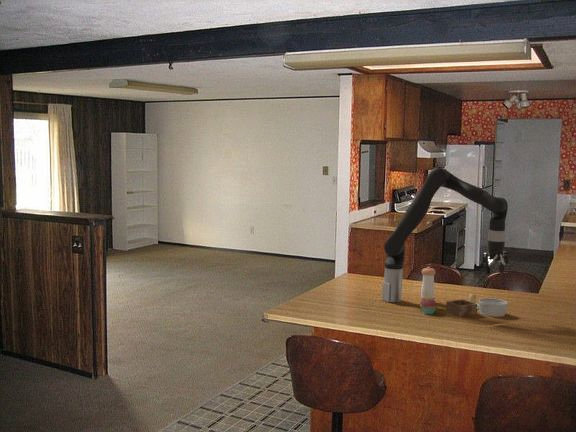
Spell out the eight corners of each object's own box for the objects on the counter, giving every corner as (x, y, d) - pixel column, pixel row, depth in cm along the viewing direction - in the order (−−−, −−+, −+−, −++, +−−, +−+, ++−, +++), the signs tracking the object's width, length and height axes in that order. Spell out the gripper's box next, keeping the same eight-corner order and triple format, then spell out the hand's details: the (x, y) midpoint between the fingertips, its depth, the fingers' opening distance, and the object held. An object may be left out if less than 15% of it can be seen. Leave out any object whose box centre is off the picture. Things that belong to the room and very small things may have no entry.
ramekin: (503, 312, 298) (503, 298, 297) (510, 319, 285) (511, 305, 284) (475, 311, 299) (476, 297, 299) (481, 318, 286) (481, 303, 286)
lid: (471, 310, 298) (472, 297, 297) (457, 305, 307) (458, 293, 306) (486, 308, 302) (487, 295, 301) (472, 303, 311) (473, 291, 310)
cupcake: (427, 317, 286) (428, 292, 285) (415, 313, 293) (416, 288, 292) (441, 315, 290) (442, 290, 288) (429, 311, 297) (430, 287, 296)
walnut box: (460, 318, 285) (460, 306, 284) (445, 313, 294) (446, 301, 293) (476, 316, 289) (477, 304, 288) (461, 311, 298) (462, 299, 297)
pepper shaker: (417, 303, 312) (418, 266, 310) (424, 301, 317) (426, 264, 316) (429, 306, 307) (431, 268, 305) (437, 303, 313) (438, 266, 311)
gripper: (490, 241, 282) (489, 276, 284) (513, 240, 288) (511, 274, 290) (479, 239, 289) (477, 273, 290) (501, 238, 295) (499, 271, 296)
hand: (494, 273), depth 290 cm, fingers open, 8 cm apart
